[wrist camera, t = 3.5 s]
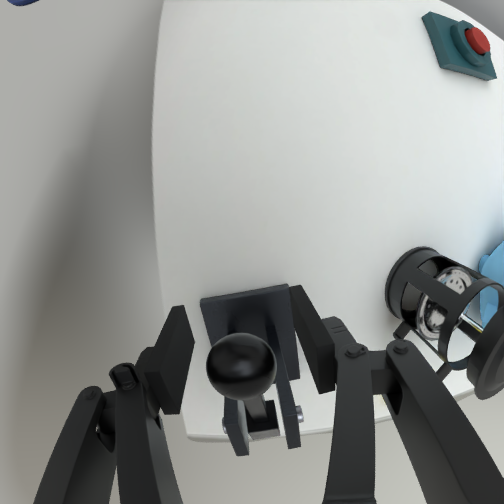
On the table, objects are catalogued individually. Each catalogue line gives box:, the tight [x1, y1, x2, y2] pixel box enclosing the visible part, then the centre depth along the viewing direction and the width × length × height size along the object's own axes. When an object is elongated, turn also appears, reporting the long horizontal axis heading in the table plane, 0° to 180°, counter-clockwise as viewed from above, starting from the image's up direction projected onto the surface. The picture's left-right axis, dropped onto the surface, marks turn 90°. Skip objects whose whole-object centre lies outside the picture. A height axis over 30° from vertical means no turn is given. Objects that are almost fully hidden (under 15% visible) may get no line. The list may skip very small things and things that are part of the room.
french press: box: [385, 247, 504, 400], centre depth 19 cm, size 12×9×23 cm
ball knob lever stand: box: [200, 284, 304, 456], centre depth 23 cm, size 12×9×14 cm
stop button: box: [465, 27, 490, 54], centre depth 17 cm, size 4×4×2 cm
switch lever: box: [206, 333, 280, 440], centre depth 15 cm, size 13×3×3 cm, turn 10°
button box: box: [422, 12, 497, 81], centre depth 20 cm, size 8×11×4 cm
